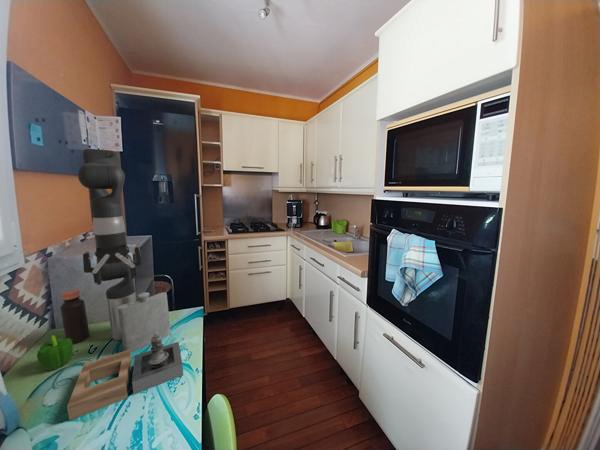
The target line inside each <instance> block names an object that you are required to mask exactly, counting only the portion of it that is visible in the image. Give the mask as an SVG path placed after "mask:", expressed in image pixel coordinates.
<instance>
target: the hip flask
mask: <svg viewBox="0 0 600 450" xmlns="http://www.w3.org/2000/svg"><path fill="white" fill-rule="evenodd" d="M137 298H138V299H136V301H133V302H130V303H128V304H124V305H121V306H119V307H118V313H119V320H120V328H121V335H122V340H121V342H122V347H123V351H127V350H131V353H134V352H136V351H139V350H141V349H143V348H146V347H148V346H150V345H151V339H152V338H153V337H154V335H155V334H157V335H159V336H161V340H162V339H165V338H167V337H168V336H170V335H171V333H172V332H171V331H172V330H171V322H170V313H169V302H168V294H167V292H165V291H164V292H163V291H162V292H159V293H156V294H155V295H151V296H150V293H149V292H141V293H140V294H138V295H137ZM157 335H156V336H157Z"/></svg>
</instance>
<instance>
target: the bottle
mask: <svg viewBox="0 0 600 450" xmlns="http://www.w3.org/2000/svg"><path fill="white" fill-rule="evenodd" d="M80 297H81V293H80V290H79V289H70V290H66V291H64V292H62V293H61V300H62V301H63V303H62V304H61V306H60V313H61V319H62V324H63V329H64V336H65V339H67V338H70V339H71V340H72V345H76V344H79V343H82V342H83V341H85V340H87V339H88V338H89V337H90V329H89V323H88V316H87V311H86V305H85V304H86V303H85V300H83V299H81V298H80Z"/></svg>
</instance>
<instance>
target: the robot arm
mask: <svg viewBox="0 0 600 450" xmlns="http://www.w3.org/2000/svg"><path fill="white" fill-rule="evenodd" d="M82 162H83V165H81V166H80V167H79V168H78V172H77V178H78V181H79V183H80V184H81V185H82V186H83V187H84V188H87V189H88V194H89V195H88V196H89V207H90V217H91V223H92V229H93V234H94V242H95V251H85V252H84V253H83V254H82V262H83V263H82V264H83V273H85V274H87V273H89V274H92V275H93V282H94V283H95V284H96V285H98V286H99V285H102V282H107V281H112V280H118V279H122V280H121V281H120V282H118V283H116V284H114V285H112V286H110V287H109V288H108V289H106V291H105V296H106V303H107V310H108V317H109V324H110V331H111V337H112V339H113V340H114V341H122V335H121V328H120V320H119V313H118V307H119V306H121V305H124V304H128V303H130V302H133V301H136V300H137V296H136V288H135V282H134V281H135V280H134V279H135V277H137V274H138V272H137V266H141V265H142V263H143V259H142V255H141V250H140V246H139V245H136V246H133V247H129V246H128V242H127V234H126V233H127V232H126V225H125V221H124V217H123V211H122V194H123V189H124V185H125V180H126V175H125V172H124V170H123V169H122V168H121V161H120V156H119V155H118V154H117V152H116V151H114V150H109V149H96V148H85V149H83V152H82ZM108 190H111V192H109V191H108ZM130 252H131V253H132V254H133V255H134V256H135V259H136V261H134V260H133V259H132V256H131V255H130V254H129V253H130ZM94 257H95V258H96V265H95V267H92V262H91V260H92V259H94Z"/></svg>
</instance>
